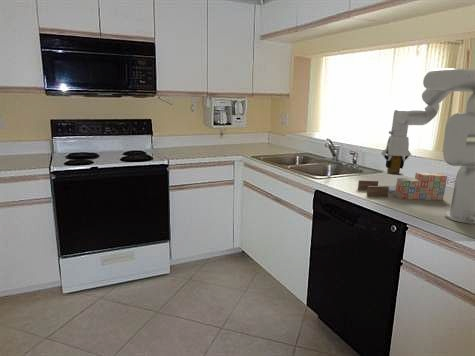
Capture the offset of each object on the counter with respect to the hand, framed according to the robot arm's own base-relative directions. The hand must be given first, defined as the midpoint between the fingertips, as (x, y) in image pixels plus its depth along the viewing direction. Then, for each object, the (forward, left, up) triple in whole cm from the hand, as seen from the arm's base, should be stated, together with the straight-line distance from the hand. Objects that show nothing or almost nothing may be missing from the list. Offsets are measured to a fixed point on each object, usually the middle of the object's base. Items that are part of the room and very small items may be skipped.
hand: (394, 167), depth 187 cm
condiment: (0, -1, -3) cm, 4 cm away
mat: (0, 0, -12) cm, 12 cm away
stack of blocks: (-15, -7, -12) cm, 21 cm away
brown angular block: (-9, +14, -12) cm, 20 cm away
